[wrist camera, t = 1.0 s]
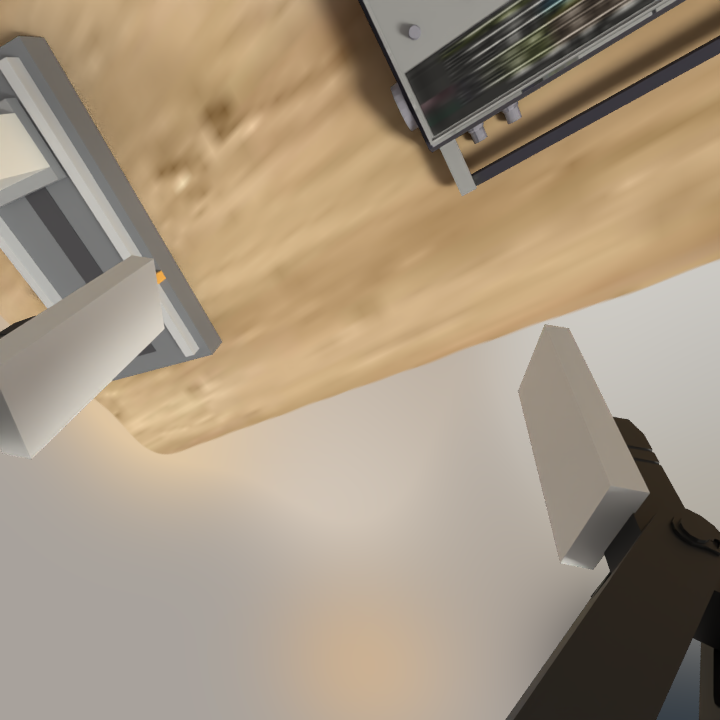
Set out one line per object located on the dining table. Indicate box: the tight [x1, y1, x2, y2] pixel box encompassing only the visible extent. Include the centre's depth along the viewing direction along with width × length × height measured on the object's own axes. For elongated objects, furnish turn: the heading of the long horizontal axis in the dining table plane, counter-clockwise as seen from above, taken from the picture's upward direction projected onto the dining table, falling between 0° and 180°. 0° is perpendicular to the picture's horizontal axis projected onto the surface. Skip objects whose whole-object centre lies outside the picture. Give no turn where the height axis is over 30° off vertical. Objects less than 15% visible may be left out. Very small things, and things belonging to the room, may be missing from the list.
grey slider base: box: [0, 36, 222, 381], centre depth 41 cm, size 28×14×4 cm, turn 20°
